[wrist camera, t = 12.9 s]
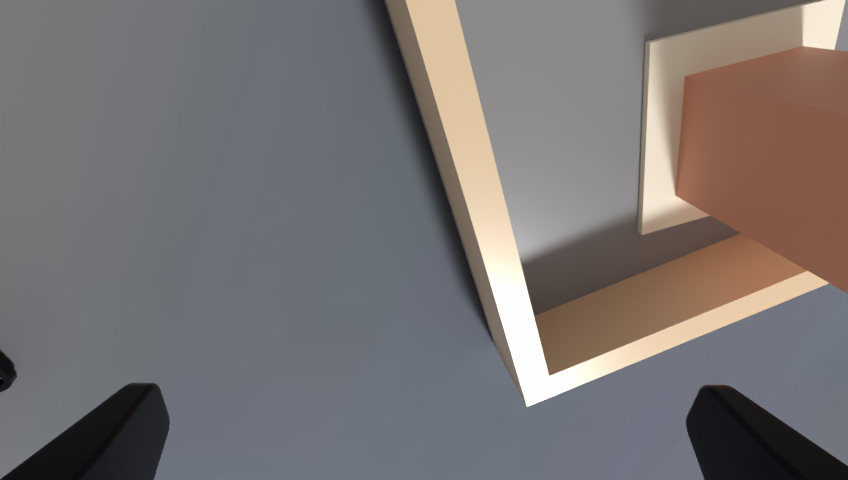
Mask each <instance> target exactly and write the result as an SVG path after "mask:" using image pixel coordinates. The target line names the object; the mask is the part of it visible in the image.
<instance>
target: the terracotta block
mask: <svg viewBox="0 0 848 480" xmlns="http://www.w3.org/2000/svg"><path fill="white" fill-rule="evenodd" d="M675 196H677V197H678V198H680V199H682V200H684V201H686V202H687V203H689V204H691V205H693V206H694V207H696V208H698V209H700V210H701V211H703V212H705V213H707V214H708V215H710V216H712V217H714V218H716V219H717V220H719V221H721V222H723V223H724V224H726V225H728V226H730V227H731V228H733V229H735V230H737V231H738V232H740V233H742V234H744V235H745V236H747V237H749V238H751V239H753V240H754V241H756V242H758V243H760V244H761V245H763V246H765V247H767V248H768V249H770V250H772V251H774V252H775V253H777V254H779V255H781V256H783V257H784V258H786V259H788V260H790V261H791V262H793V263H795V264H797V265H798V266H800V267H802V268H804V269H805V270H807V271H809V272H811V273H812V274H814V275H816V276H818V277H820V278H821V279H823V280H825V281H827V282H828V283H830V284H832V285H834V286H835V287H837V288H839V289H841V290H842V291H844V292H846V293H848V51H839V50H831V49H823V48H815V47H807V46H801V47H797V48H793V49H789V50H785V51H781V52H777V53H774V54H770V55H766V56H762V57H758V58H754V59H750V60H746V61H742V62H738V63H734V64H730V65H726V66H723V67H719V68H715V69H711V70H707V71H703V72H699V73H695V74H691V75H687V76H685V81H684V93H683V106H682V119H681V131H680V144H679V156H678V169H677V182H676V194H675Z"/></svg>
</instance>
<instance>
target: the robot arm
mask: <svg viewBox="0 0 848 480" xmlns="http://www.w3.org/2000/svg"><path fill="white" fill-rule="evenodd" d="M16 377H17V373H16V371H15V370H14V369H13V368H12V367H11V366H10V365H9V364H8V363H7V362H6V361H5V360H4V359H3V358H2V357H1V356H0V378H2V379H0V392H2V391H4V390H6V389H8V388H9V387H10V386H11V385H12V383H13V382H14V380H15V379H16ZM169 423H170V421H169V415H168V412H167V409H166V405H165V402H164V399H163V396H162V393H161V390H160V388H159V386H158V385H157V384H155V383H130V384H128V385H126V386H124V387H123V388H121V389H120V390H119V391H117V392H116V393H115V394H113V395H112V396H111V397H109V398H108V399H107V400H105V401H104V402H103V403H101V404H100V405H99V406H97V407H96V408H95V409H93V410H92V411H91V412H89V413H88V414H87V415H85V416H84V417H83V418H81V419H80V420H79V421H77V422H76V423H75V424H73V425H72V426H71V427H69V428H68V429H67V430H65V431H64V432H63V433H61V434H60V435H59V436H57V437H56V438H55V439H53V440H52V441H51V442H49V443H48V444H47V445H45V446H44V447H43V448H41V449H40V450H39V451H37V452H36V453H35V454H33V455H32V456H31V457H29V458H28V459H27V460H26V461H24V462H23V463H22V464H20V465H19V466H18V467H16V468H15V469H14V470H12V471H11V472H10V473H8V474H7V475H6V476H4V477H3V478H2V479H0V480H154V477H155V474H156V470H157V467H158V464H159V461H160V457H161V454H162V451H163V448H164V444H165V441H166V438H167V435H168V431H169ZM686 427H687V432H688V435H689V438H690V440H691V443H692V446H693V449H694V452H695V454H696V457H697V460H698V463H699V466H700V468H701V471H702V474H703V477H704V480H848V466H847V465H845V464H844V463H842V462H841V461H840V460H838V459H837V458H835V457H834V456H832V455H831V454H829V453H828V452H826V451H825V450H823V449H822V448H820V447H819V446H818V445H816V444H815V443H813V442H812V441H810V440H809V439H807V438H806V437H804V436H803V435H801V434H800V433H798V432H797V431H796V430H794V429H793V428H791V427H790V426H788V425H787V424H785V423H784V422H782V421H781V420H779V419H778V418H776V417H775V416H774V415H772V414H771V413H769V412H768V411H766V410H765V409H763V408H762V407H760V406H759V405H757V404H756V403H754V402H753V401H752V400H750V399H749V398H747V397H746V396H744V395H743V394H741V393H740V392H738V391H737V390H735V389H734V388H732V387H730V386H727V385H704V386H703V387H701V388H700V390H699V391H698V394H697V396H696V398H695V400H694V402H693V404H692V406H691V408H690V410H689V412H688V415H687V418H686Z"/></svg>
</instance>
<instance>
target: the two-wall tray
mask: <svg viewBox="0 0 848 480" xmlns="http://www.w3.org/2000/svg"><path fill="white" fill-rule="evenodd" d="M384 2H385V5H386V8H387V11H388V14H389V17H390V20H391V24H392V27H393V30H394V33H395V36H396V39H397V42H398V45H399V49H400V52H401V55H402V58H403V61H404V64H405V67H406V70H407V74H408V77H409V80H410V83H411V86H412V89H413V92H414V95H415V99H416V102H417V105H418V108H419V111H420V114H421V117H422V120H423V124H424V127H425V130H426V133H427V136H428V139H429V142H430V145H431V149H432V152H433V155H434V158H435V161H436V164H437V167H438V170H439V174H440V177H441V180H442V183H443V186H444V189H445V192H446V196H447V199H448V202H449V205H450V208H451V211H452V214H453V217H454V221H455V224H456V227H457V230H458V233H459V236H460V239H461V242H462V246H463V249H464V252H465V255H466V258H467V261H468V264H469V267H470V271H471V274H472V277H473V280H474V283H475V286H476V289H477V292H478V296H479V299H480V302H481V305H482V308H483V311H484V314H485V317H486V321H487V324H488V327H489V330H490V333H491V336H492V339H493V342H494V345H495V347H496V349H497V351H498V353H499V355H500V356H501V358H502V360H503V362H504V364H505V366H506V368H507V370H508V372H509V374H510V375H511V377H512V379H513V381H514V383H515V385H516V387H517V389H518V391H519V392H520V394H521V396H522V398H523V400H524V402H525V404H526V406H527V407H528V406H531V405H533V404H535V403H538V402H540V401H543V400H545V399H548V398H550V397H553V396H555V395H557V394H560V393H562V392H565V391H567V390H570V389H572V388H574V387H577V386H579V385H582V384H584V383H587V382H589V381H592V380H594V379H596V378H599V377H601V376H604V375H606V374H609V373H611V372H614V371H616V370H618V369H621V368H623V367H626V366H628V365H631V364H633V363H636V362H638V361H640V360H643V359H645V358H648V357H650V356H653V355H655V354H658V353H660V352H662V351H665V350H667V349H670V348H672V347H675V346H677V345H679V344H682V343H684V342H687V341H689V340H692V339H694V338H697V337H699V336H701V335H704V334H706V333H709V332H711V331H714V330H716V329H719V328H721V327H723V326H726V325H728V324H731V323H733V322H736V321H738V320H741V319H743V318H745V317H748V316H750V315H753V314H755V313H758V312H760V311H763V310H765V309H767V308H770V307H772V306H775V305H777V304H780V303H782V302H784V301H787V300H789V299H792V298H794V297H797V296H799V295H802V294H804V293H806V292H809V291H811V290H814V289H816V288H819V287H821V286H824V285H826V284H828V282H827V281H825V280H823V279H821V278H820V277H818V276H816V275H814V274H812V273H811V272H809V271H807V270H805V269H804V268H802V267H800V266H798V265H797V264H795V263H793V262H791V261H790V260H788V259H786V258H784V257H783V256H781V255H779V254H777V253H775V252H774V251H772V250H770V249H768V248H767V247H765V246H763V245H761V244H760V243H758V242H756V241H754V240H753V239H751V238H749V237H747V236H745V235H744V234H742V233H740V232H738V231H737V230H735V229H733V228H731V227H730V226H728V225H726V224H724V223H723V222H721V221H719V220H717V219H716V218H714V217H712V216H710V215H708V214H707V213H705V212H703V211H701V210H700V209H698V208H696V207H694V206H693V205H691V204H689V203H687V202H686V201H684V200H682V199H680V198H678V197H677V196H675V194H676V182H677V169H678V156H679V144H680V131H681V119H682V106H683V93H684V81H685V76H687V75H691V74H695V73H699V72H703V71H707V70H711V69H715V68H719V67H723V66H726V65H730V64H734V63H738V62H742V61H746V60H750V59H754V58H758V57H762V56H766V55H770V54H774V53H777V52H781V51H785V50H789V49H793V48H797V47H801V46H807V47H815V48H823V49H831V50H839V51H848V0H384Z"/></svg>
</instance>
